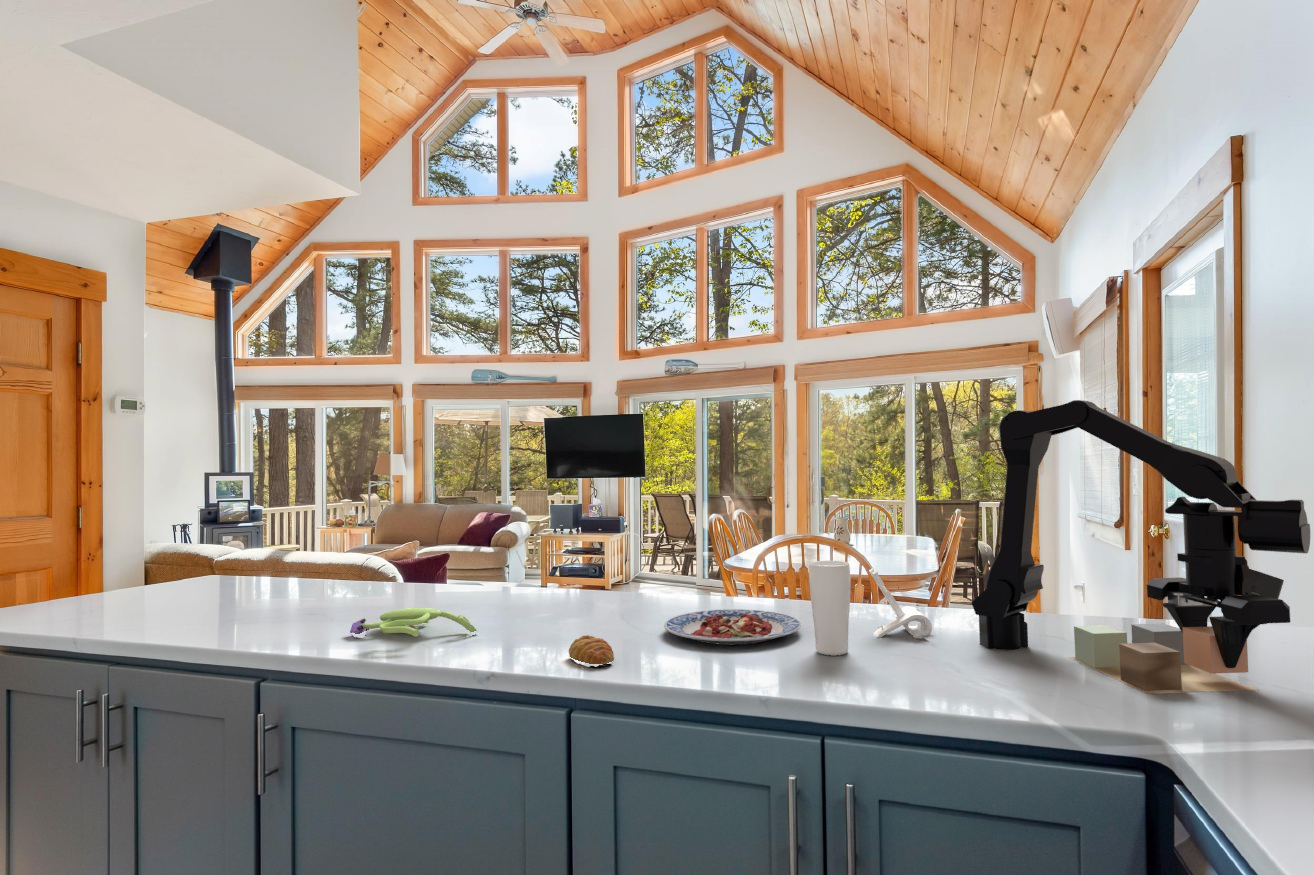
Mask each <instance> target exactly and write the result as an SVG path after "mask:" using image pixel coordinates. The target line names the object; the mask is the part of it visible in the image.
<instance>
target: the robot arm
mask: <svg viewBox="0 0 1314 875" xmlns="http://www.w3.org/2000/svg"><path fill="white" fill-rule="evenodd" d="M1076 429H1080V430H1082V431H1084V432H1086V433H1088V434H1089V435H1091V436H1094V437H1096V438H1097V439H1100V440H1101V441H1103V442H1106V443H1107V444H1109V445H1111V446H1113V447H1115V448H1117V449H1118V450H1121V451H1123V452H1124V453H1127V454H1129V455H1130V456H1132V457H1134V458H1136V459H1138V460H1139V461H1141V462H1144V463H1146V464H1148V465H1149V467H1152V469H1154V470H1155V471H1157V472H1158V473H1159V474H1160V475H1161V477H1163V478H1164V479H1165V480H1166V481H1168V482H1169V483H1170V484H1171V485H1173V486H1174V487H1176V488H1177V489H1178V490H1179V491H1181V492H1182V493H1183V494H1185V495H1186V496H1188V497H1190V498H1193V499H1195V500H1196V499H1197V500H1209V501H1211V502H1201V501H1200V502H1195V501H1194V502H1192V501H1190V500H1189V499H1188V498H1187V497H1185V496H1178V497H1177V498H1176V500H1175V501H1174V502H1173V503H1172V504H1171V505H1169V506H1168V507H1167V508H1165V510H1164V511H1165V513H1166V514H1169V515H1183V516H1182V517H1183V518H1182V519H1183V520H1182V521H1183V539H1184V541H1183V543H1184V552H1181V553H1179V552H1178V553H1177V562H1183V563H1185V577H1155V578H1151V580H1150V581H1149V582H1148V583H1147V584H1146V591H1147V592H1146V595H1147V598H1150V599H1153V600H1156V601H1165V598H1167V602H1162V606H1163V607H1162V608H1165V609H1167V612H1168V613H1169V614H1170V616H1171V618H1172V619H1173V621H1174V623H1176V625H1177V626H1178V628H1180V630H1181V631H1182V633H1183V627H1208V619H1209V621H1210V624H1211V626H1212V628H1213V631H1214V634H1215V637H1216V641H1217V644H1218V647H1219V650H1220V653H1221V657H1222V659H1223V662H1224V664H1225V666H1226V667H1227V668H1235V667H1236V665H1237V663H1238V660H1239V658H1240V655H1241V653H1242V650H1243V648H1244V645H1245V643H1246V640H1247V641H1248V638H1249V636H1250V635H1251V633H1252V632H1253V630H1255V629H1256V628H1258V627H1259V626H1260V625H1267V624H1287V623H1289V624H1290V623H1291V608H1290V606H1289V604H1288V603H1286V602H1285V601H1284V600H1283V599H1281V598H1279V597H1280V594H1281V590H1282V588H1283V585H1284V582H1285V581H1284V579H1281V578H1280V577H1276V576H1274V575H1271V574H1267V573H1265V572H1261V571H1258V570H1255V569H1252V568H1250V566H1249V565H1248V561H1247V559H1246V557H1245V556H1242V555H1237V540H1236V538H1237V537H1236V536H1238V539H1239V542H1241V543H1243V544H1244V545H1248V547H1249V549H1250V550H1251V551H1256V552H1257V551H1259V552H1260V551H1261V552H1262V551H1263V552H1275V553H1289V554H1291V553H1292V554H1293V553H1294V554H1305V555H1306V554H1308V553H1309V550H1310V546H1311V524H1310V523H1309V522H1308V516H1307V512H1306V510H1305V501H1304V500H1303V499H1286V500H1259V499H1256V497H1254V495H1252V494H1251V492H1249V491H1248V490H1247V488H1245V487H1244V486H1243V484H1242V483H1241V482H1240V481H1239V480H1238V474H1237V471H1236V468H1235V465H1233V463H1231V462H1230V461H1229V460H1227V459H1225V458H1222V457H1221V456H1217V455H1214V454H1210V453H1208V452H1204V451H1202V450H1199V449H1198V450H1197V449H1194V448H1191V447H1185V446H1183V445H1179V444H1176V443H1173V442H1170V441H1168V440H1165V439H1163V438H1162V437H1159V436H1157V435H1155V434H1153V433H1151V432H1149V431H1147V430H1145V429H1144V428H1141V427H1139V426H1137V425H1136V424H1133V423H1131V422H1129V421H1127V420H1125V419H1123V418H1121V417H1119V416H1117V415H1115V414H1112V413H1111V412H1109V411H1107V410H1105V409H1103V408H1100V407H1099V406H1097V404H1095V403H1094V402H1092V401H1089V400H1080V399H1077V400H1075V399H1074V400H1071V401H1069V402H1066V403H1063V404H1060V405H1056V406H1051V407H1047V408H1046V407H1045V408H1041V409H1037V410H1013V411H1011V412H1008V413H1007V414H1006V415H1005V416H1004V417H1002V419H1001V421H1000V423H999V429H998V430H999V440H1000V441H999V442H1000V448H1001V452H1002V454H1003V458H1004V459H1005V462H1006V474H1005V476H1006V477H1005V485H1004V486H1005V488H1004V499H1003V512H1002V520H1001V521H1002V523H1001V533H1000V547H999V551H998V553H997V555H996V557H995V558H994V561H993V562H992V565H991V567H990V569H989V573H988V577H987V579H986V580H987V581H986V585H985V589H984V590H983V591H982V592H981V593H980V594H979V595H978V596H976V598H974V600H973V601H971V606H972V608H973V610H974V613H975V615H976V616H978V628H979V629H978V630H979V631H978V632H979V633H978V634H979V645H981V646H982V647H984V648H986V649H989V650H998V651H1016V650H1020V649H1026V648H1028V647H1029V634H1028V631H1029V630H1028V622H1026V621H1025V614H1024V613H1022V612H1025V611H1027V609H1028V606H1029V603H1030V602H1031V601H1033V600H1034V599H1036V598H1037V596H1038V594H1039V591H1040V590H1043V589H1044V587H1043V584H1042V578H1043V577H1042V576H1043V574H1044V573H1043V572H1044V567H1045V566H1044V564H1040V563H1039V564H1038V563H1037V564H1036V562H1035V561H1034V560H1035V559H1034V558H1033V555H1032V544H1033V532H1034V520H1035V510H1036V499H1037V488H1038V475H1039V474H1038V473H1039V468H1040V465H1041V462H1042V461H1043V458H1044V457H1045V455H1046V453H1047V451H1048V449H1049V446H1050V443H1051V438H1052V436H1055V435H1059V434H1063V433H1067V432H1070V431H1073V430H1076ZM1217 505H1219V506H1220V507H1222V508H1237V509H1239V508H1241V510H1233V509H1232V510H1231V509H1230V510H1229V509H1227V510H1226V509H1219V508H1218V506H1217ZM1236 517H1237V534H1236ZM1216 608H1219V609H1220V612H1221V613H1222V616H1211V614H1213V612H1214V611H1215V609H1216Z"/></svg>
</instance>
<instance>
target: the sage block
mask: <svg viewBox="0 0 1314 875" xmlns="http://www.w3.org/2000/svg"><path fill="white" fill-rule="evenodd" d="M1073 636H1074V657H1075V659H1077V660H1079V661H1081V662H1084V663H1086V664H1088V665H1090V666H1092V667H1094V668H1102V667H1120V650H1119V644H1125V643H1128V633H1127V631H1123V630H1120V629H1118V628H1115V627H1112V626H1110V625H1106V624H1103V625H1102V624H1099V625H1097V624H1096V625H1074V626H1073Z"/></svg>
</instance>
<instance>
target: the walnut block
mask: <svg viewBox="0 0 1314 875" xmlns="http://www.w3.org/2000/svg"><path fill="white" fill-rule="evenodd" d="M1119 650H1120V672H1121V680H1123V681H1125V682H1127V683H1129V684H1131V685H1133V686H1135V687H1138V688H1140V689H1142V690H1144V691H1155V690H1182V679H1181V658H1180V652H1179V651H1177V650H1174V649H1171V648H1168V647H1165V646H1163V645H1160V644H1157V643H1132V642H1130V643H1129V642H1127V643H1125V644H1119Z"/></svg>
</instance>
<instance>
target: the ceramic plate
mask: <svg viewBox="0 0 1314 875" xmlns="http://www.w3.org/2000/svg"><path fill="white" fill-rule="evenodd" d="M663 627H664V630H666V631H667V632H669V633H670V634H672V635H675V636H679V637H682V638H687V639H692V640H694V641H696V640H698V641H697V642H700V641H703V642H702V643H705V642H709V643H708V644H712V643H719V644H718V645H726V644H739V645H748V644H747V643H752V644H759V643H763V641H764V642H766V641H770V640H773V639H777V638H781V637H784V636H788V635H791V634H793V633H795V632H797V631H798V630H799V629H800V628H801V627H802V623H801V621H800V620H799V619H797V618H795V617H793V616H791V615H788V614H784V613H780V612H775V611H767V610H759V609H757V610H756V609H737V608H735V609H734V608H729V609H725V608H724V609H709V610H699V611H693V612H687V613H682V614H679V615H676V616H673V617H671V618H668V619H667V620H666V621H665V622H664V624H663ZM758 642H759V643H758Z"/></svg>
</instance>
